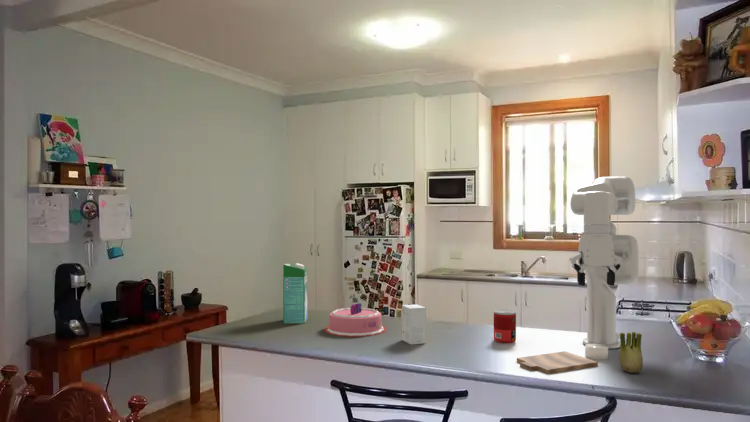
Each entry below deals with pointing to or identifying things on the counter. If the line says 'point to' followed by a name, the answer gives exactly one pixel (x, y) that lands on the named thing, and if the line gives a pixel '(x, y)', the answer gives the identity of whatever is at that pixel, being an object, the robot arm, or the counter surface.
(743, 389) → the counter surface
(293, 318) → the milk carton
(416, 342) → the small box
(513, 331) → the canned food
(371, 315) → the cake
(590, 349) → the white rounded block
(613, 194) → the robot arm
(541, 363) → the board
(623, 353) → the fennel bulb
